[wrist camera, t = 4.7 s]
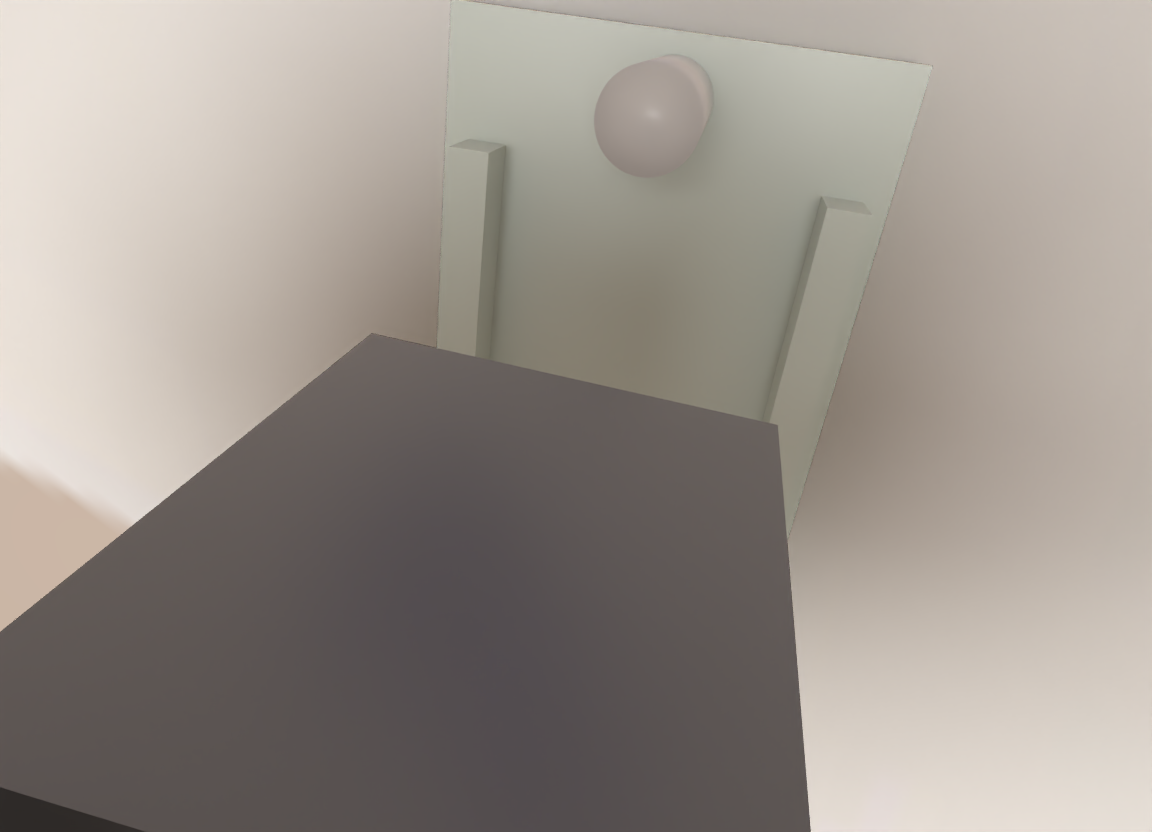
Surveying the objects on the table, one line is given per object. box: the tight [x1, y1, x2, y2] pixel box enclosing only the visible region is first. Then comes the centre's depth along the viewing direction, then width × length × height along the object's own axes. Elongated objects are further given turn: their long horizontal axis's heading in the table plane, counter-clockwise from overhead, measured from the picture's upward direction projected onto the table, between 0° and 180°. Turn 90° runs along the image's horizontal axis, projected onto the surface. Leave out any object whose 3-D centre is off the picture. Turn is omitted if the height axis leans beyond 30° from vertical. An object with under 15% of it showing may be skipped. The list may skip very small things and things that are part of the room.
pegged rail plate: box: [437, 0, 933, 541], centre depth 16 cm, size 9×14×5 cm, turn 173°
